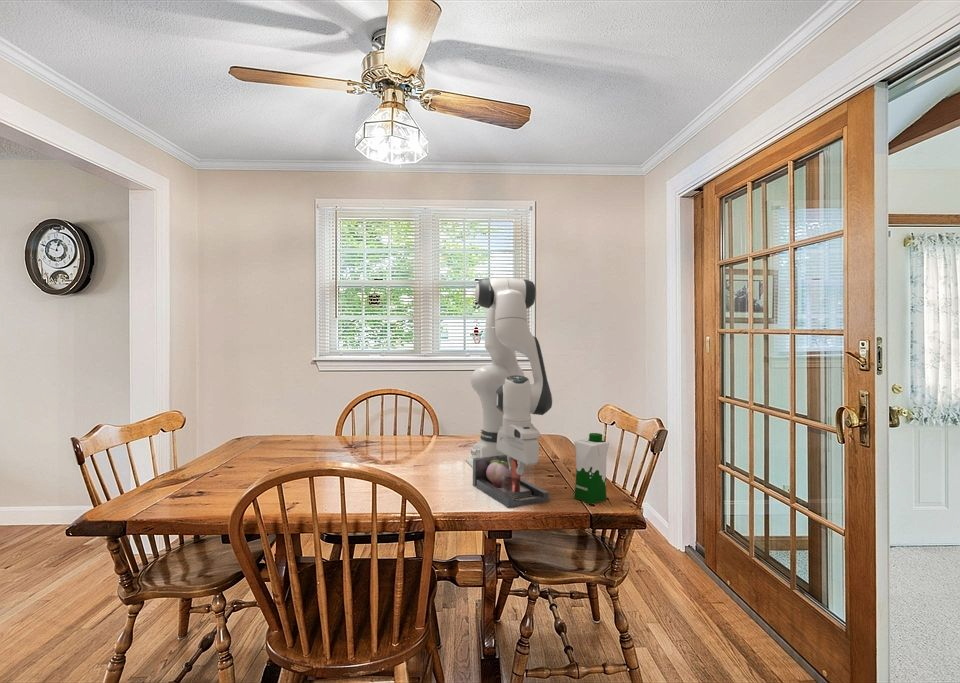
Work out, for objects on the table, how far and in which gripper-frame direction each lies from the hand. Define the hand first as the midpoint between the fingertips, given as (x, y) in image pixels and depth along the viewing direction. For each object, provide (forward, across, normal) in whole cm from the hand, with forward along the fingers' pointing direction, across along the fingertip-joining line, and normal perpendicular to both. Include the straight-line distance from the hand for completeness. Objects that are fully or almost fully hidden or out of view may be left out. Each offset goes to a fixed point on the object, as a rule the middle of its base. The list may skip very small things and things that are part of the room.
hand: (515, 472), depth 162 cm
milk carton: (+8, +11, +20) cm, 24 cm away
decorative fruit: (+8, -10, 0) cm, 12 cm away
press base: (+8, -4, 0) cm, 9 cm away
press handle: (+8, -2, 0) cm, 8 cm away
